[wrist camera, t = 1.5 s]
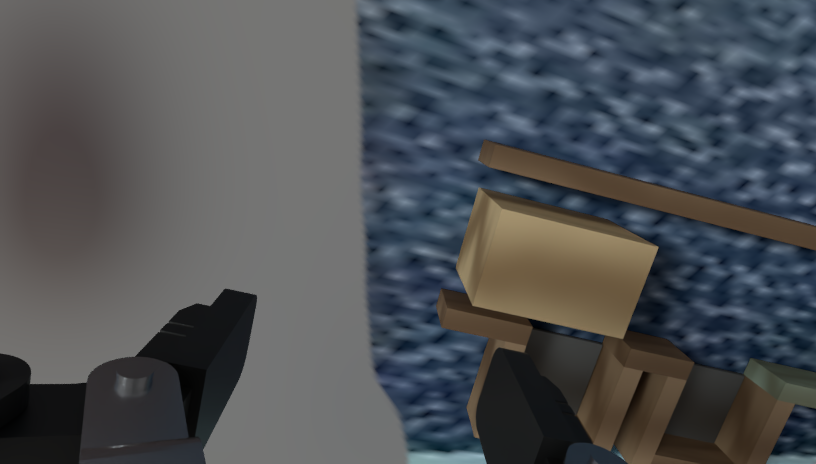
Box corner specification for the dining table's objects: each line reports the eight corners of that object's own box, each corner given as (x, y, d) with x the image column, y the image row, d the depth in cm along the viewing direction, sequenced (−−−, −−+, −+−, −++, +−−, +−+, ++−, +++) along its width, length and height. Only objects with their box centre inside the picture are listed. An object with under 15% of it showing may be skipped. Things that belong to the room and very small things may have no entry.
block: (478, 187, 30) (502, 208, 24) (606, 218, 30) (658, 247, 25) (455, 266, 31) (472, 305, 25) (578, 294, 32) (623, 339, 26)
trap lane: (484, 139, 29) (495, 143, 26) (919, 252, 32) (972, 268, 29) (410, 396, 33) (412, 425, 30) (803, 474, 36) (840, 508, 33)
